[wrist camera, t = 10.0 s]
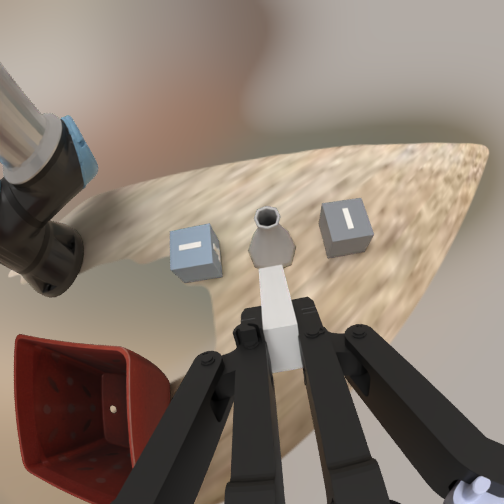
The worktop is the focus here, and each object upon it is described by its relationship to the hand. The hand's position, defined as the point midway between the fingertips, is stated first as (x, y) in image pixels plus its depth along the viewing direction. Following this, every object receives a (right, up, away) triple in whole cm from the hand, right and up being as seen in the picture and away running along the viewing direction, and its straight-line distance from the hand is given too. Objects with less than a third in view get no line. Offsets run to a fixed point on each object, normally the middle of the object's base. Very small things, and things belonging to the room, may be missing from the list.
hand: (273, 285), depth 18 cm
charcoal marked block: (+12, +4, +25) cm, 28 cm away
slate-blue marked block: (-9, +1, +26) cm, 28 cm away
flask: (+2, +2, +25) cm, 26 cm away
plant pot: (-19, -23, +18) cm, 35 cm away
